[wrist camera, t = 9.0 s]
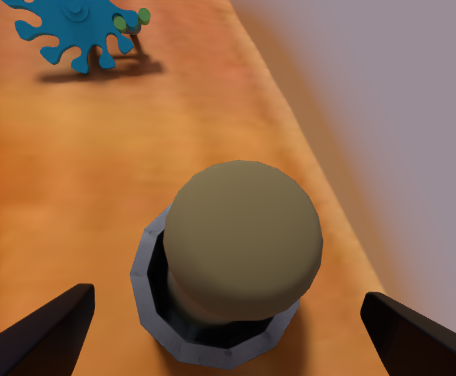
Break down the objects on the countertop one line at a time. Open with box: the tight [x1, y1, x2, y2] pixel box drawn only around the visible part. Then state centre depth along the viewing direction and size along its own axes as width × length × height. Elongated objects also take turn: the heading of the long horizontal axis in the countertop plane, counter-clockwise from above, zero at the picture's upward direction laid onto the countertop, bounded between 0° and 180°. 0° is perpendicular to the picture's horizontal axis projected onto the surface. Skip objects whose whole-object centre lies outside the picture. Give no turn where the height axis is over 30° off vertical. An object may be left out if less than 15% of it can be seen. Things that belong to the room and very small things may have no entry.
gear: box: [2, 0, 151, 74], centre depth 24 cm, size 11×6×10 cm
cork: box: [163, 160, 323, 329], centre depth 12 cm, size 6×6×11 cm
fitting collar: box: [130, 204, 300, 370], centre depth 16 cm, size 10×10×4 cm
